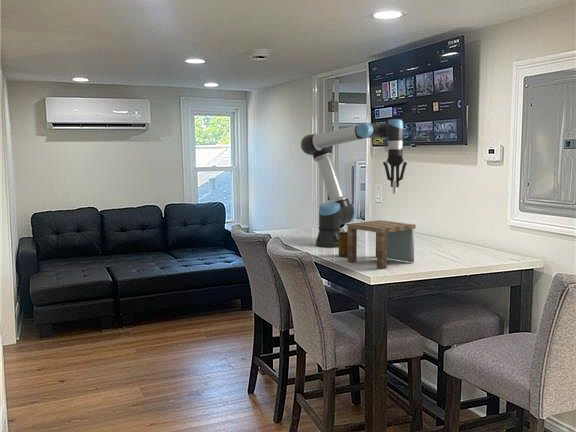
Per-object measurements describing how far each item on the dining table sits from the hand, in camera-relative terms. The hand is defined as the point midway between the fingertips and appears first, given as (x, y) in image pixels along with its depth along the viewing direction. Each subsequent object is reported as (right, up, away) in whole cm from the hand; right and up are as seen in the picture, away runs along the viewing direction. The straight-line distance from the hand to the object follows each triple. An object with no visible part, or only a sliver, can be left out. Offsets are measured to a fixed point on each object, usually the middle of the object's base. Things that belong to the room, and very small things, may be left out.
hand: (394, 193), depth 295 cm
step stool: (-14, -34, -37) cm, 52 cm away
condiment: (-28, -32, -20) cm, 48 cm away
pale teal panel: (-4, -33, -35) cm, 48 cm away
